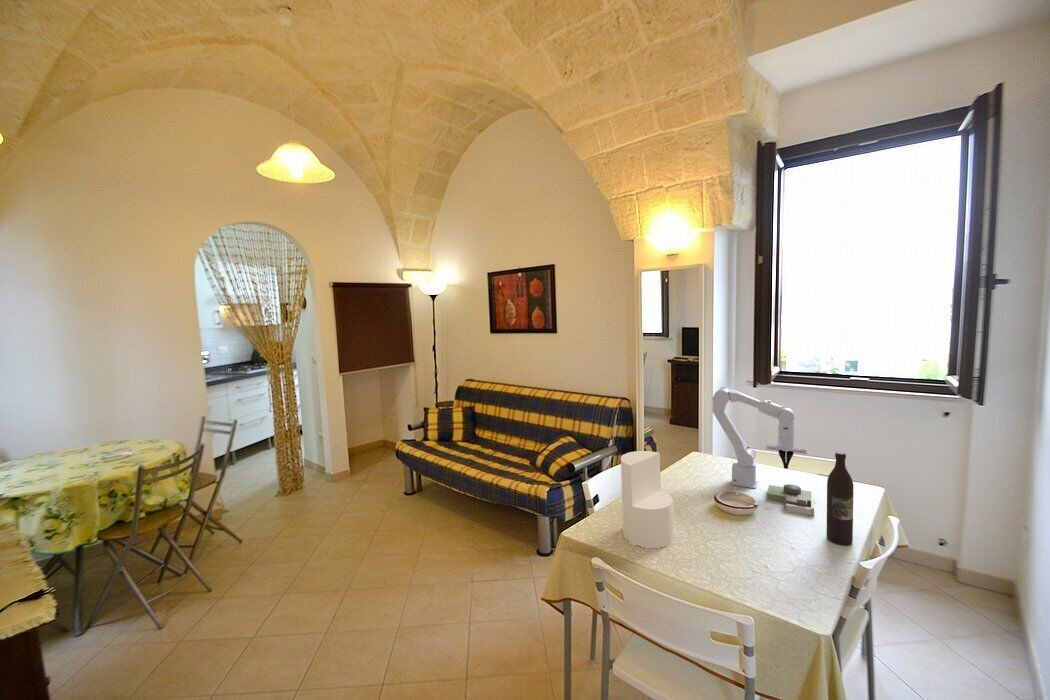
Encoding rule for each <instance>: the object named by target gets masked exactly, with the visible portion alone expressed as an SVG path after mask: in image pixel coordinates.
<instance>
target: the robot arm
mask: <svg viewBox="0 0 1050 700" xmlns="http://www.w3.org/2000/svg"><path fill="white" fill-rule="evenodd" d="M711 401H712V409H711V411H712V413H713V415H714V417H715V418H716V420H717V422H718V423H719V425H720V426H721V428H722V430H723V431H724V433H725V435H726V436H727V438H728V440H729V441H730V443H731V445H732V446H733V450H734V453H735V455H736V458H737V459H736V460H737V462H733V463H732V465H731V466H732V468H731V485H732V486H739V487H744V488H748V489H749V488H751V489H756V488H757V486H758V483H759V481H757V476H756V475H757V473H756V470H757V468H756V467H757V465H756V463H755V460H754V459H756V451H755V450H754V449H753V448H751V446H749V444H748V443H747V442H746V441H745V440H744V439H743V437H742V435H741V434H740V431H739V430H738V429H737V427H736V425H735V424H734V422H733V420H732V419H731V417H730V415H729V414H728V412H727V411H726V408H727V405H728V403H729V402H730V403H736V402H739V403H743V404H745V405H748V406H751V407H754V408H757V409H758V411H759V413H761V414H764V415H767V416H769V417H771V418H774V419H777V420H778V428H777V429H778V431H777V432H778V433H777V434H778V435H777V437H778V438H777V440H778V441H777V443H778V444H776V443H774V444H772V443H770V444H769V443H767V444H766V445H765V446H766V447H765V449H766V450H767V451H769V450H771V451H778V455H779V457H780V459H781V462H782V465H783V469H785V470H786V469H787V470H788V469H789V464H790V461H791V459H792V458H793V456H794V453H796V454H803V455H807V454H808V453H807V452H808V451H807V450H808V449H807V448H804V447H800V446H796V445H795V426H794V425H795V422H794V420H795V412H794V410H793V409H791V408H790V407H789V406H784V405H782V404H781V405H779V404H777V403H774V402H772V399H771V400H770V399H768V400H766V399H764V400H759V399H757V398H755V397H752V396H750V395H747V394H745V393H742V392H741V391H738V390H736V389H733V388H729V387H728V386H722V387H720V388H719V389H718V390H716V391H715V392H714V395H713V397H712V398H711Z"/></svg>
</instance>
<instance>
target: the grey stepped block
mask: <svg viewBox="0 0 1050 700" xmlns="http://www.w3.org/2000/svg"><path fill="white" fill-rule="evenodd" d="M786 504H792V505H797V506H803V507H808V506H807V496H804V495H798V497H793V496H787V495H786V499H785V502H784V505H785V506H784V507H785V510H786Z"/></svg>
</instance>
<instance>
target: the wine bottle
mask: <svg viewBox="0 0 1050 700" xmlns="http://www.w3.org/2000/svg"><path fill="white" fill-rule="evenodd" d="M834 457H835V465H834V467H833V469H831V471H830V473H829V474H828V477H827V484H826V538H827V540H828V541H830V542H831V543H833V544H837V545H839V546H849V545H852V544H853V540H854V536H853V535H854V483H853V478H852V477H851V475H850V473H849V471H848V470H847V466H846V459H847V455H846V453H845V452H842V451H836V452H835V454H834Z"/></svg>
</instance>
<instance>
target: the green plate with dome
mask: <svg viewBox="0 0 1050 700" xmlns="http://www.w3.org/2000/svg"><path fill="white" fill-rule="evenodd" d="M786 495H787V496H793V497H798V495H804V496H807V507H803V506H797V505H792V504H786V509H785V511H786V512H790V513H794V514H795V513H796V514H800V515H807V516H811V517H815V499H812V491H809V490H802V489H801V487H800V486H799V485H796V484H791V483H790V484H788V483H787V484H784V485H783V486H779V485H773V484H771V485H770V484H769V485H768V487H767V492H766V500H769V501H775V502H781V503H785V499H786Z"/></svg>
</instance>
